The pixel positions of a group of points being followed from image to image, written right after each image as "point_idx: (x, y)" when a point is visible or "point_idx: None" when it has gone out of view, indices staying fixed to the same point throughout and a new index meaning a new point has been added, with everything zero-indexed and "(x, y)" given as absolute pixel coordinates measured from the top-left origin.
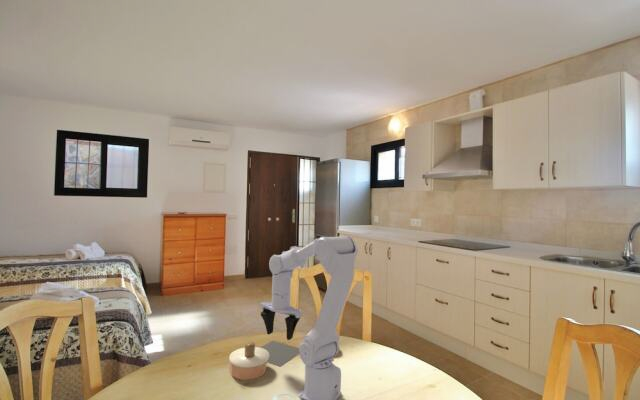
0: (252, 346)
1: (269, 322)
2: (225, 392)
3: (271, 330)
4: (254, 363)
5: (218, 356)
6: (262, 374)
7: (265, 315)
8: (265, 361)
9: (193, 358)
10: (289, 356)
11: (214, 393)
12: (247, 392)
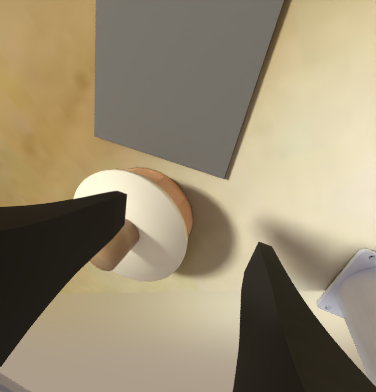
0: (117, 264)
1: (69, 261)
2: (152, 287)
3: (116, 212)
4: (163, 271)
5: (44, 161)
6: (190, 230)
7: (3, 359)
8: (185, 250)
9: (16, 185)
10: (232, 89)
11: (137, 290)
12: (190, 286)
